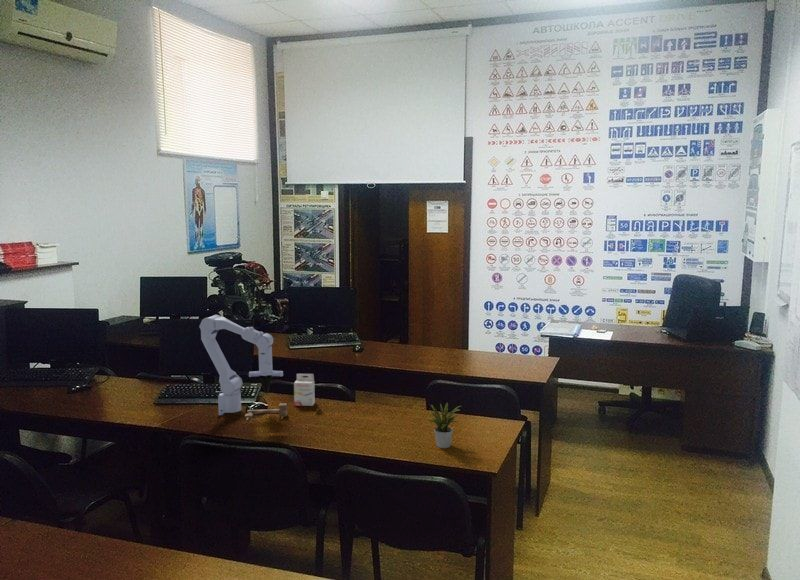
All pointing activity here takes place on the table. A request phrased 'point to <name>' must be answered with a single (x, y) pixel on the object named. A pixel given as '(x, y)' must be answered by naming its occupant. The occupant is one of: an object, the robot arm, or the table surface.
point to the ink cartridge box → (304, 390)
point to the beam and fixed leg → (251, 412)
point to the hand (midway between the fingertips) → (266, 392)
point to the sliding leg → (282, 410)
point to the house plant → (443, 426)
